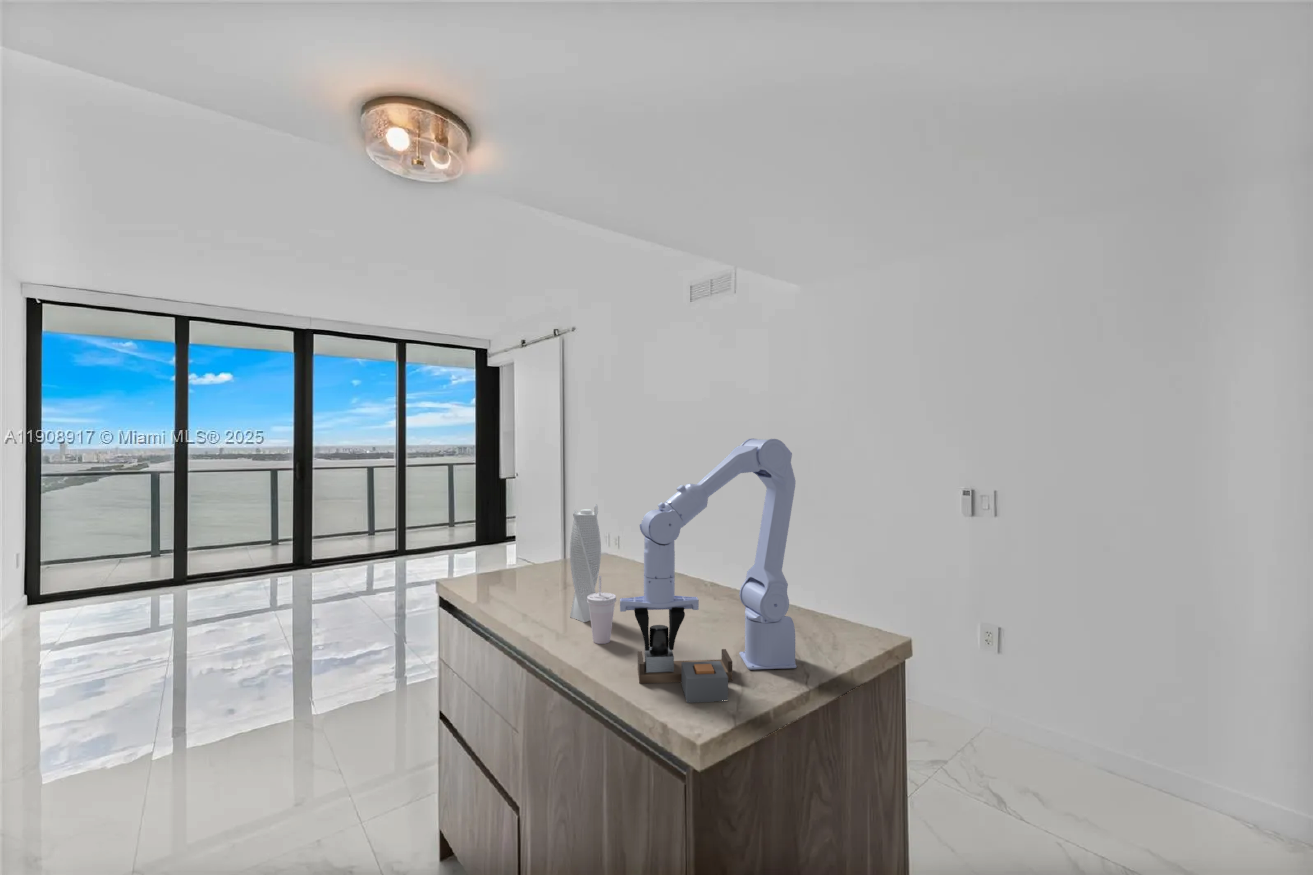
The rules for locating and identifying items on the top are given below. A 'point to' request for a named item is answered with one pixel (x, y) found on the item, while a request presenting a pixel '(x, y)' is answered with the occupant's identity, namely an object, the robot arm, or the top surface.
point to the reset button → (703, 669)
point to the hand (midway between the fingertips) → (658, 648)
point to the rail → (677, 670)
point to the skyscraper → (584, 560)
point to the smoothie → (601, 615)
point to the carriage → (659, 651)
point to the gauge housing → (704, 683)
